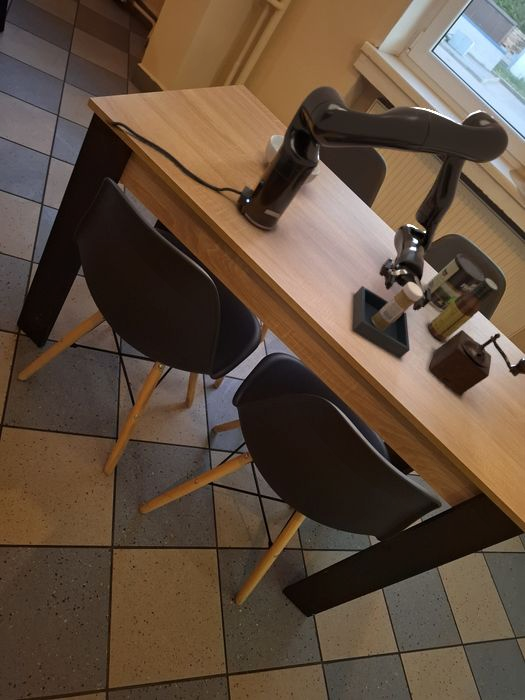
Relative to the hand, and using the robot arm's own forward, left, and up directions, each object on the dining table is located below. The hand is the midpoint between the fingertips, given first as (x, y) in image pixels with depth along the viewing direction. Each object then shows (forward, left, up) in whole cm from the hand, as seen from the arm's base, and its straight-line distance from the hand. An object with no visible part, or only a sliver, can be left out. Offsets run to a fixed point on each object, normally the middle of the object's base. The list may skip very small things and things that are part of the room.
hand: (403, 297), depth 117 cm
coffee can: (+23, +28, -10) cm, 37 cm away
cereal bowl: (-34, +43, -10) cm, 56 cm away
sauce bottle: (+21, +11, -10) cm, 25 cm away
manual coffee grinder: (+25, -5, -10) cm, 27 cm away
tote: (0, -2, -9) cm, 10 cm away
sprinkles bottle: (0, -2, -9) cm, 9 cm away
